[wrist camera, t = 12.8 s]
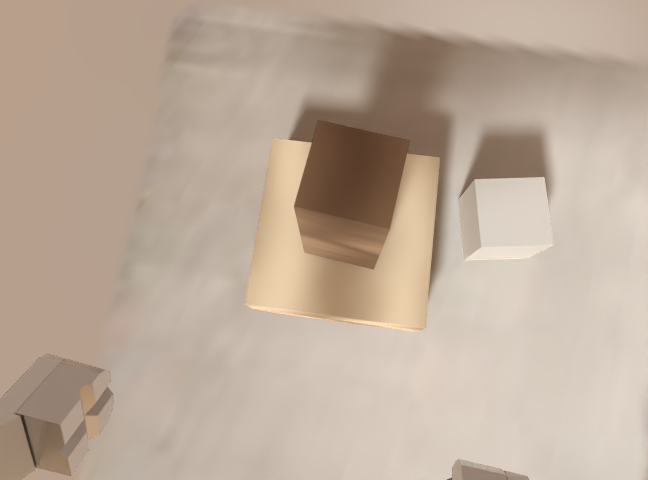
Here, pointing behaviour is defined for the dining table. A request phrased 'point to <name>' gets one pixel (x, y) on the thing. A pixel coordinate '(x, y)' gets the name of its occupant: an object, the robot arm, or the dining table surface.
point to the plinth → (335, 276)
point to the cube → (505, 218)
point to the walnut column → (349, 193)
